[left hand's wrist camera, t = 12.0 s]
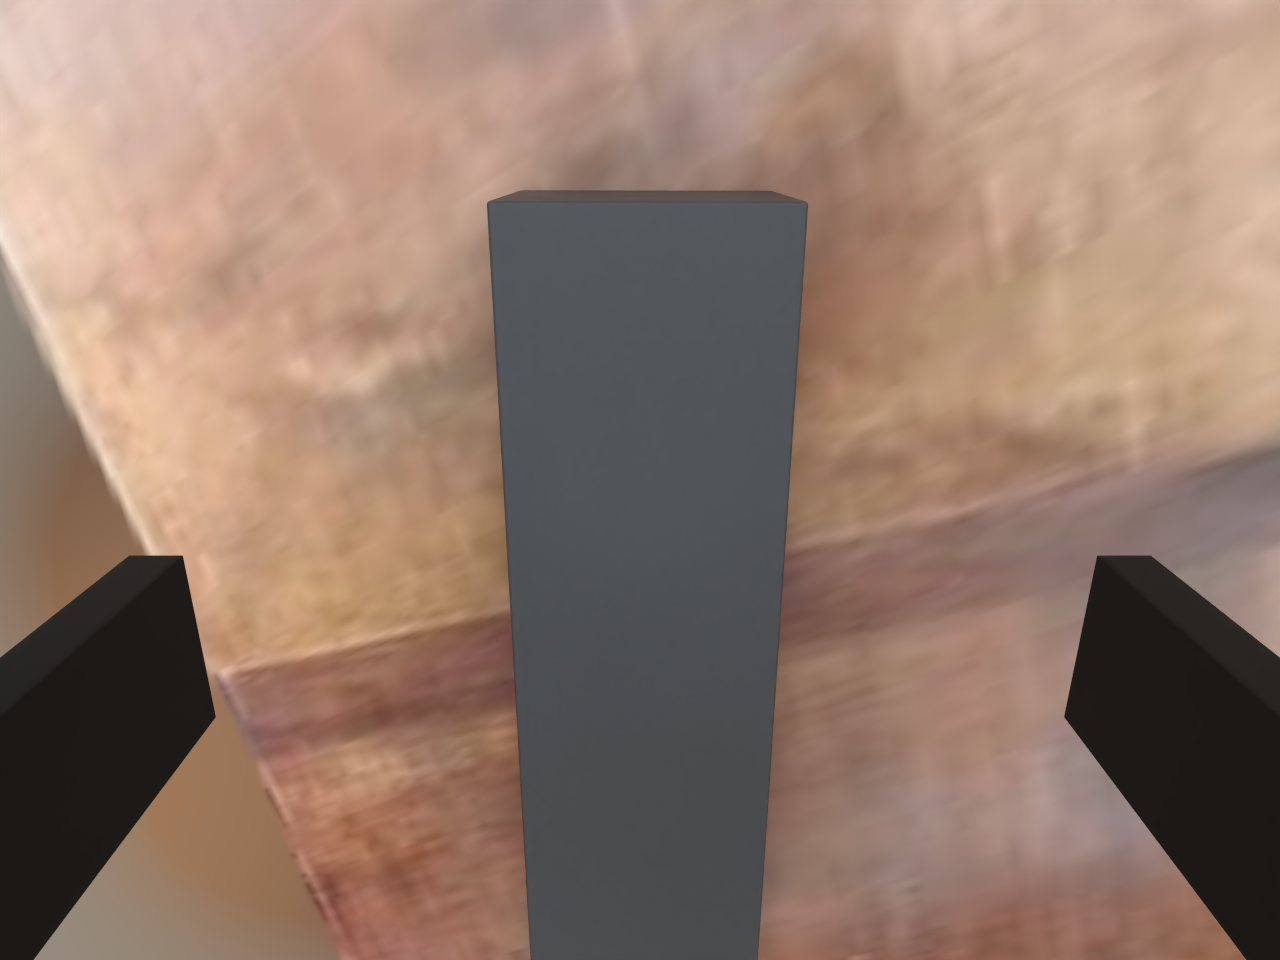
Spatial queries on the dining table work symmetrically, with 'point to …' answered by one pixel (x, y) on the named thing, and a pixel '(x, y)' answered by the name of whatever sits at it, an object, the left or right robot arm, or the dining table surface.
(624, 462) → the thick board
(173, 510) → the dining table surface
